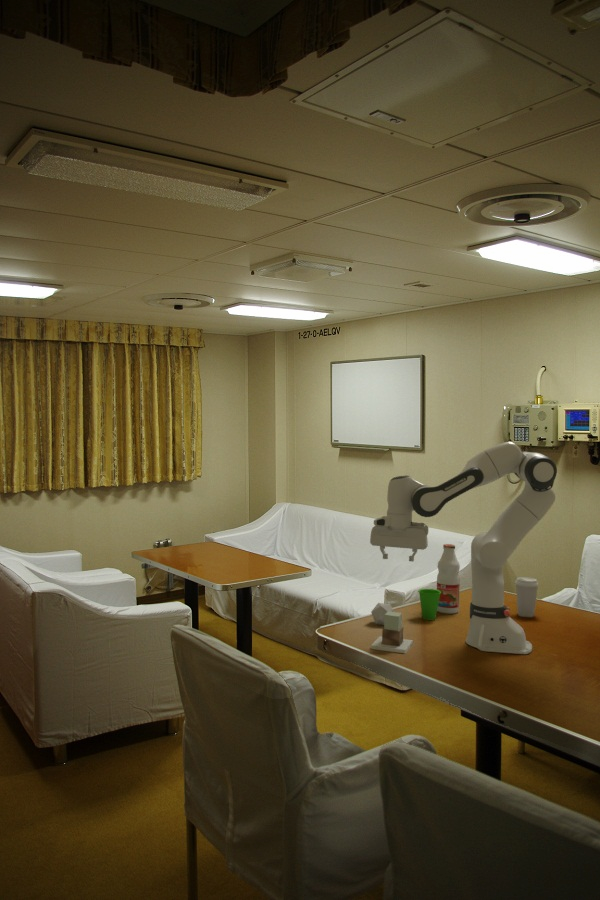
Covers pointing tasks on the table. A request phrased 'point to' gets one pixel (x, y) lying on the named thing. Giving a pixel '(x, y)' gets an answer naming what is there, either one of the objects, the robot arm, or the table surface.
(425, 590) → the cup
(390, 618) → the sage block
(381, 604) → the white block
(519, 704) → the table surface
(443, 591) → the fruit juice
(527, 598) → the coffee cup
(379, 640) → the plate
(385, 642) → the walnut block
